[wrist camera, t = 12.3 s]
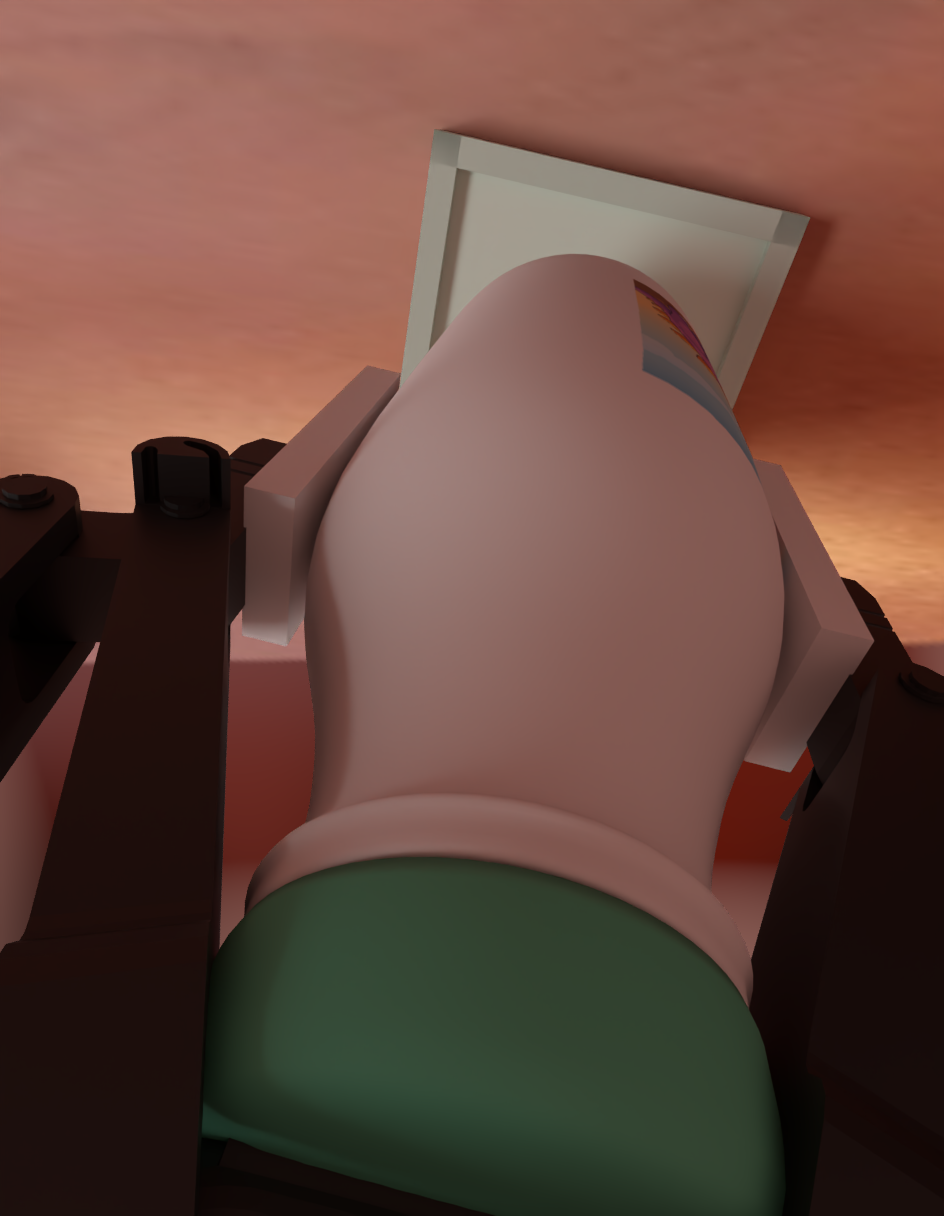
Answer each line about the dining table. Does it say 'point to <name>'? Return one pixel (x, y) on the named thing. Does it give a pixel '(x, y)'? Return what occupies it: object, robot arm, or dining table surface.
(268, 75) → the dining table surface
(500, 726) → the milk bottle
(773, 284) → the pad
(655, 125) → the dining table surface
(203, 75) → the dining table surface
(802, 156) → the dining table surface
